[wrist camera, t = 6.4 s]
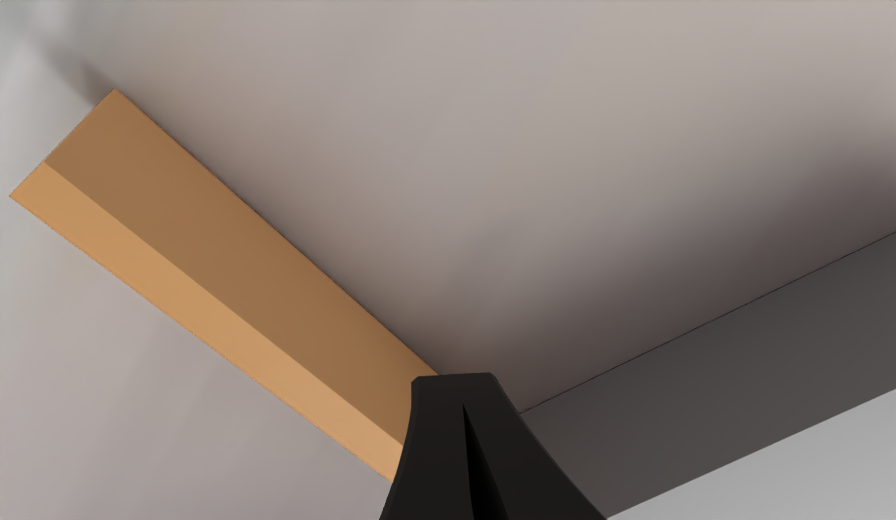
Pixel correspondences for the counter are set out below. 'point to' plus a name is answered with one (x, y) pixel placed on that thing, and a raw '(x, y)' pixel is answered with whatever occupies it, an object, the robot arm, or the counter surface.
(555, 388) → the counter surface
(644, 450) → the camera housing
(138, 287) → the long wooden stick
